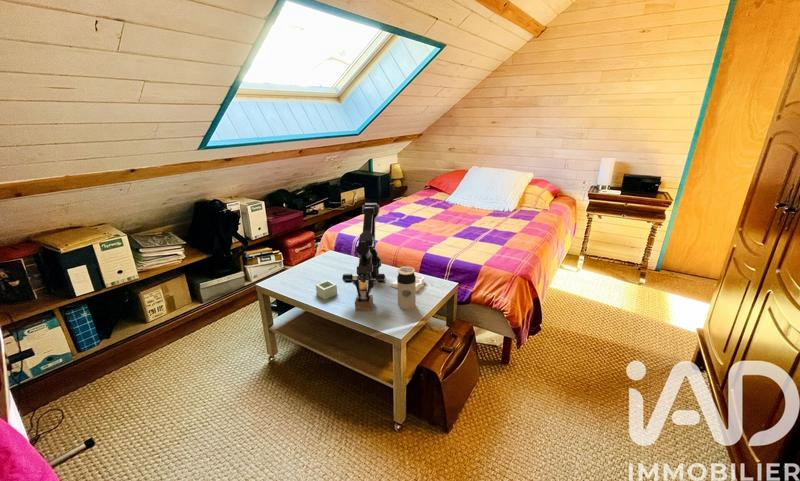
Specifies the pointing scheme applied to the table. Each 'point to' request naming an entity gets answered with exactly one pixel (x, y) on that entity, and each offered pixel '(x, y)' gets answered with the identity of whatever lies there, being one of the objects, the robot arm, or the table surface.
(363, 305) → the brown square open box
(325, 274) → the table surface
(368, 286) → the robot arm
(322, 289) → the cream square hollow block
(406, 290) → the travel mug
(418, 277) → the knuckle duster
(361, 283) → the gold and grey cylinder
